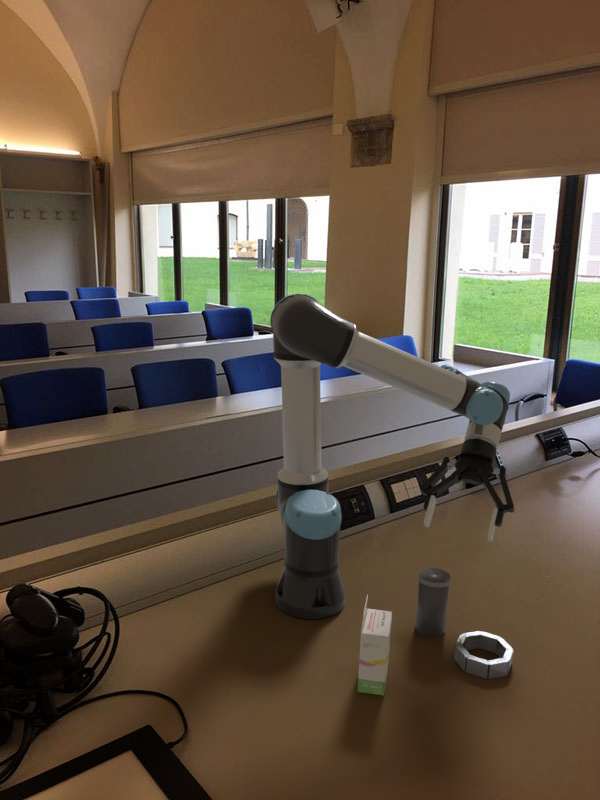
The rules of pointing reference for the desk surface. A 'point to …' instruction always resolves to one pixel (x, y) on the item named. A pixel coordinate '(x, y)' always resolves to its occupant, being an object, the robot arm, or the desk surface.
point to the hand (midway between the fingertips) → (457, 532)
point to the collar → (481, 665)
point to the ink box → (374, 651)
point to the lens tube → (432, 601)
